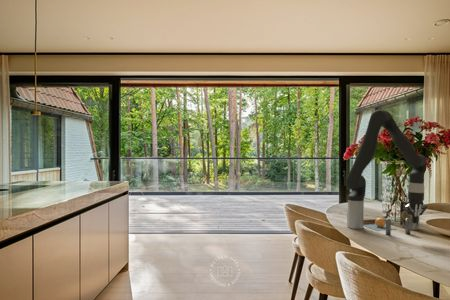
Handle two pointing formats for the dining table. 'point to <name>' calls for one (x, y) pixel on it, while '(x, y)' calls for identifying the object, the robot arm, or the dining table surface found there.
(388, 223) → the post
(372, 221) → the stopper
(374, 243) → the dining table surface
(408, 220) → the post
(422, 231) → the dining table surface
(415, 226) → the coffee box
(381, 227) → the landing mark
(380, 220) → the ball
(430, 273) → the dining table surface
